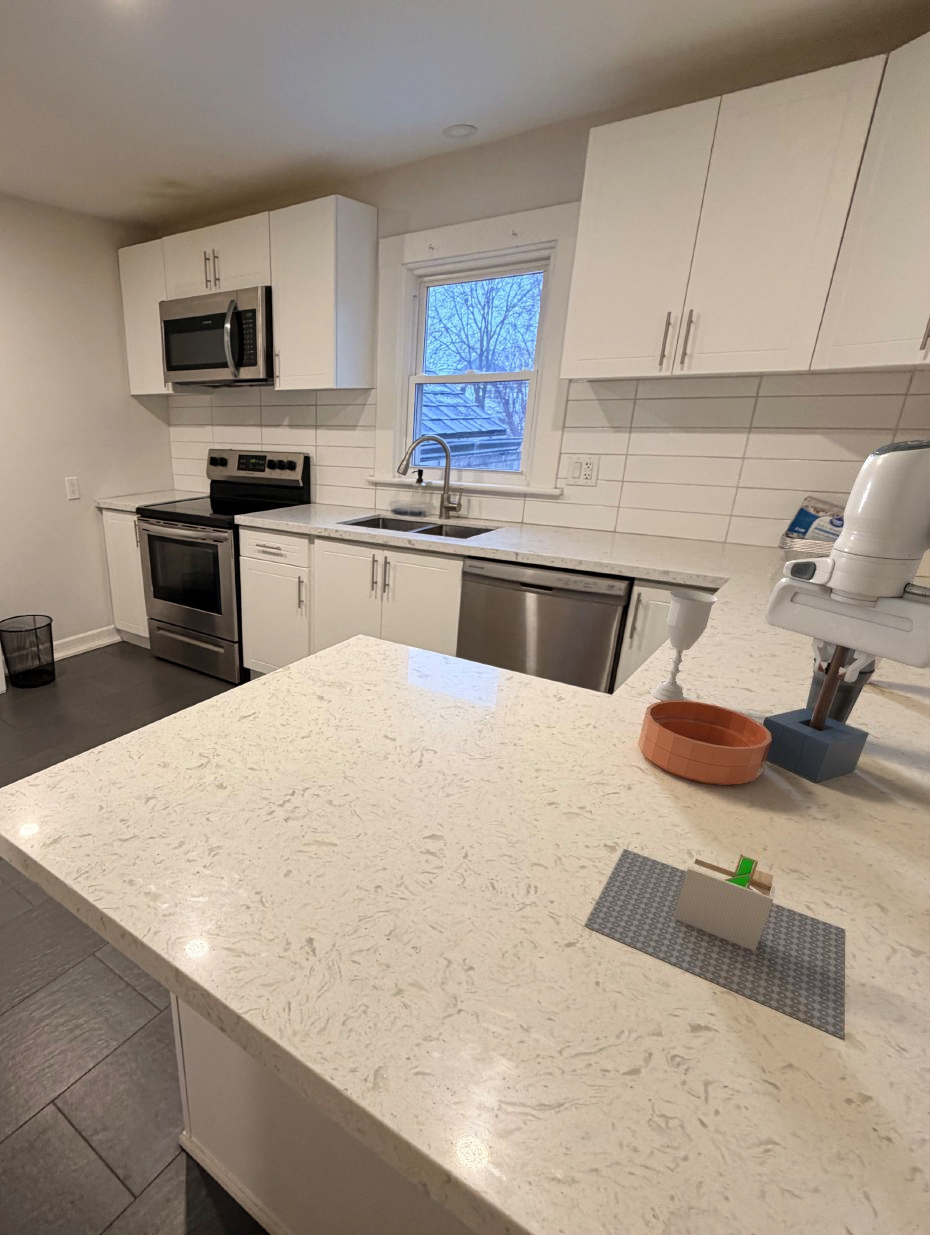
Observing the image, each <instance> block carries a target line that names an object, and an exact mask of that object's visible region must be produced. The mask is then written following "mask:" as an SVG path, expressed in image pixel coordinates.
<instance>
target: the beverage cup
mask: <svg viewBox="0 0 930 1235" xmlns="http://www.w3.org/2000/svg"><path fill="white" fill-rule="evenodd" d="M836 645H837V644H834V643H833V644H832V646H828V647H827V648H828V652H829V657H830V659H831V660H832V657H833V654H834V651H835V648H836ZM855 651H856V650H854V649H851V651H850V654H849V657H848V660H847V662H846V665H845V666H847V665H849V666H850V665H852V664H853V663H854V662H855V661H857V660H858V659H857V658H854V654H855ZM816 660H817V659H816V658H815V657H814V658H813V666H812V679H811V683H810V688H809V693H808V697H807V701H806V706H805V709H807V710H810V711H813V712H814V710H815V707H816V704H817V701H818V698H819V695H820V692H821V689H822V686H823V683H824V680H825V678H826V675H827V674H826V675H825V674H822V673H819V672H816V671H814V670H813V669H814V666H815V663H816ZM874 667H875V659H874V660H873V661H872V662H870V663H869V664H867V665H866V666H865V667H863V668H862V669H860V671H859V673H858V676H857V679H856V680H855V681H854V682H850V683H849V682H846V681H843V680H840V682H839V685H838V688H837V691H836V694H835V697H834V700H833V702H832V705H831V708H830V711H829V714H828V718H831V719H833V720H836V721H838V722H841V723H844V724H846V723H847V721H848V719H849V717H850V715H851V713H852V711H853V709H854V707H855V705H856V703H857V701H858V699H859V697H860V695H861V693H862V691H863V689H864V687H865V686H866V684H868V683H867V681H868V680H869V678H870V677H871V675H872V673H873V672H874V671H875V669H874ZM875 672H876V671H875Z"/></svg>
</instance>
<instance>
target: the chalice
mask: <svg viewBox="0 0 930 1235" xmlns="http://www.w3.org/2000/svg"><path fill="white" fill-rule="evenodd" d="M669 594H670V598H671V601H670V606H669V610H668V614H667V619H666V628H667V634H668V638H669V641H670V645H671V647H672V648H673V649H675V655H674V657H673V658H671V661H672V666H671V667H670V668H669V669H668V671H669V674H670V675H669V678H668V679H666V680H665V681H661V682H659V683H658V686H657V687H656V688H655V690H653V691H652V692H651V695H652V696H653V697H654V698H655V699H658V700H660V701H669V700H684V701H686V700H685V697H684V692H683V687H682V686H681V684H680V683H678V681H677V676H678V674H680V673H681V670H680V665H681V663H682V662H683V659H682V656H683V652H684V651H689V650H690V649H691V648H692V647H693V646H694V645H695V643H697V641H698V640H699V639H700V637H702V635H703V634H704V632H705V630H706V629H707V626H708V624H709V623H708V622H709V619H710V615H711V611H712V608H713V606H714V604H715V603H716V602H717V601H718V598H717V597H716V596H714V595H712V594H709V593H706V592H702V591H696V590H688V589H676V590H672V591H670V592H669Z"/></svg>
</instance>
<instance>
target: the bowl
mask: <svg viewBox="0 0 930 1235" xmlns="http://www.w3.org/2000/svg"><path fill="white" fill-rule="evenodd" d="M771 742H772V737H771V733H770V732H769V731H768V729H767V728H766V727H765V726H764V725H763V723H760V722H759V721H757V720H756V719H755V718H753V717H751V716H748V715H745V714H743V713H741V712H739V711H736V710H733V709H729V708H726V707H723V706H719V705H716V704H711V703H705V702H701V701H694V700H693V701H692V700H669V701H663V700H660V701H657V702H654V703H652V704H650V705H648V706H647V707H646V709H645V713H644V717H643V721H642V725H641V730H640V734H639V739H638V742H637V746H638V749H639V750H640V752H641V754H642V755H644V757H646V758H647V759H648V760H649V761H650V762H652V763H653V764H654V765H656V766H657V767H659V768H661V769H663V770H664V771H666V772H667V773H670V774H672V775H675V776H678V777H681V778H683V779H687V780H689V781H694V782H698V783H703V784H710V785H720V786H721V785H722V786H726V785H727V786H728V785H730V786H731V785H736V784H737V785H740V784H745V783H749V782H753V781H756V779H758V778H759V777H760V776H761V775H762V773H763V769H764V766H765V763H766V761H767V760H766V757H767V754H768V751H769V748H770V745H771Z"/></svg>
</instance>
